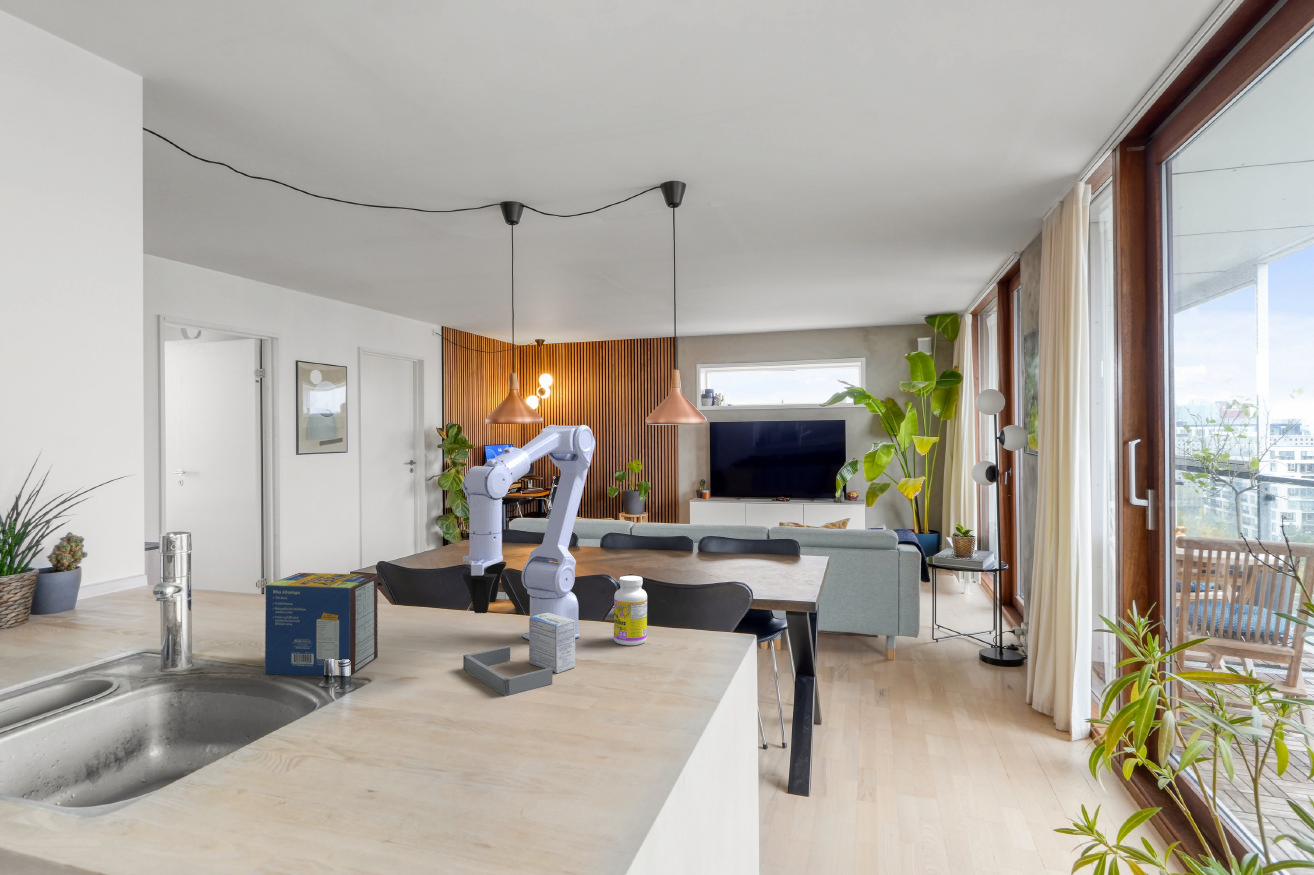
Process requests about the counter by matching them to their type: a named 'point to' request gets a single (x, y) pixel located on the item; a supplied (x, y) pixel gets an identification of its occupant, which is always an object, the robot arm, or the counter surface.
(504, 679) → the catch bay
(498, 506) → the robot arm
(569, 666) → the medicine box
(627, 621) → the supplement bottle
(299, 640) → the protein box
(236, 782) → the counter surface
